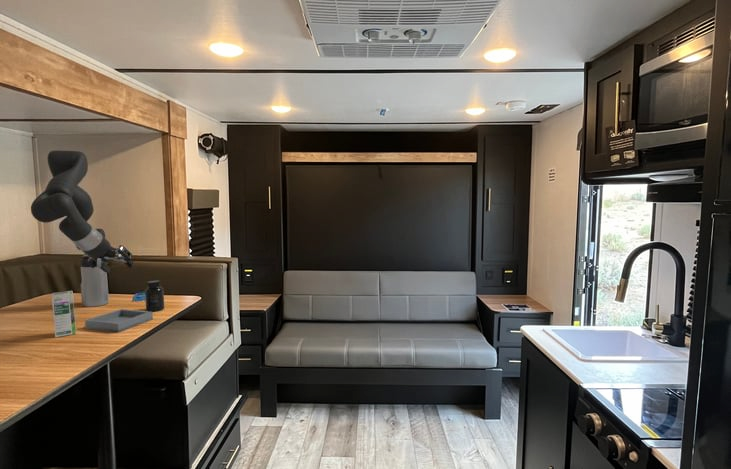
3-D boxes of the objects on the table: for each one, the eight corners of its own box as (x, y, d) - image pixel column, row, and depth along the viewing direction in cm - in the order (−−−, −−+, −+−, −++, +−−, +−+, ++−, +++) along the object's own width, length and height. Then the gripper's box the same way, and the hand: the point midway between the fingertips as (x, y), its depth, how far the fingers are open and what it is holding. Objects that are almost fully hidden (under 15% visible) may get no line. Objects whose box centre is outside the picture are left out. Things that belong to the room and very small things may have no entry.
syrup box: (54, 337, 132) (51, 295, 131) (55, 333, 137) (52, 292, 135) (75, 334, 135) (72, 292, 134) (75, 329, 140) (72, 289, 139)
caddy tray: (85, 328, 141) (85, 320, 141) (122, 316, 156) (121, 308, 155) (118, 332, 137) (117, 323, 137) (152, 319, 151) (152, 311, 151)
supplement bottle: (168, 307, 168) (166, 279, 166) (158, 312, 161) (156, 283, 160) (152, 307, 168) (151, 279, 167) (142, 311, 162) (140, 283, 160)
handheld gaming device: (132, 300, 177) (135, 292, 191) (133, 302, 178) (135, 295, 191) (153, 297, 181) (154, 290, 194) (153, 300, 181) (154, 293, 195)
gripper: (114, 228, 133) (141, 256, 146) (73, 237, 134) (104, 264, 146) (108, 245, 129) (137, 273, 141) (65, 254, 129) (98, 281, 141)
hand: (120, 268), depth 143 cm, fingers open, 8 cm apart
